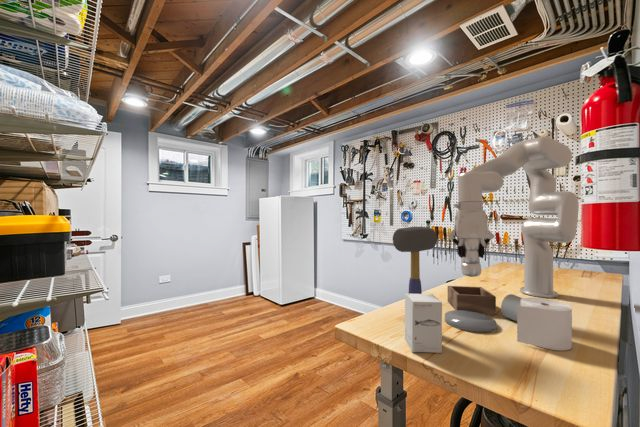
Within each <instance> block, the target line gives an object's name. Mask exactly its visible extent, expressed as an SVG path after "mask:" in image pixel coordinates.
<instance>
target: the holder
mask: <svg viewBox="0 0 640 427" xmlns="http://www.w3.org/2000/svg"><path fill="white" fill-rule="evenodd" d="M447 303H448V304H449V305H450V306H451V307H452V308H453V309H454V310H465V311H472V312H477V313H481V314H484V315H497V296H495V295H494V294H492V293H491V292H489V290H487V289H485V288H484V287H482V286H465V285H464V286H462V285H447Z"/></svg>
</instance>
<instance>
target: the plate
mask: <svg viewBox="0 0 640 427" xmlns="http://www.w3.org/2000/svg"><path fill="white" fill-rule="evenodd" d="M444 321H445V323H446V324H448V325H449V326H451V327H452V328H455V329H458V330H461V331H465V332H469V333H477V334H478V333H479V334H485V333H486V334H490V333H493V332H495V331H497V328H498V327H497V321H496V320H495V319H494V318H493V317H491V316H489V315H488V314H481V313H477V312H472V311H465V310H455V309H454V310H449V311H445V314H444Z"/></svg>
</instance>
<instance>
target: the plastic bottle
mask: <svg viewBox="0 0 640 427" xmlns="http://www.w3.org/2000/svg"><path fill="white" fill-rule="evenodd" d="M479 245H480V239H479V238H478V235H477V234H476V233H471V234H470V235H469V238H468V239H464V241H463V243H462V246H463V252H464V257H463V258H461V264H460V270H461V273H462V274H463V276H467V277H471V278H473V277H474V278H475V277H480V275H481V274H482V265H481V261H480V260H481V259H480V258H481V257H479Z"/></svg>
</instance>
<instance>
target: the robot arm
mask: <svg viewBox="0 0 640 427" xmlns="http://www.w3.org/2000/svg"><path fill="white" fill-rule="evenodd" d="M572 159H573V153H572V150H571V148H570V147H568V146H567V144H564V143H562V142H560V141H558V140H557V139H554V138H551V137H548V136H538V137H533V138H530V139H525V140H520V141H517V142H516V143H514V144H513V145H511V146H510V147H508V148H507V149H506V150H505V151H504V152H502V153H501V154H500V155H498V156H497V157H494V158H492V159H490V160H488V161H486V162H484V163H481V164H479V165H477V166H476V167H474V168H473V169H470V170H469V171H465V172H461V173H459V174H458V176H457V194H458V195H457V200H458V201H457V203H454V204H453V207H454V208H456V209H457V210H456V212H455V217H454V218H455V219H454V227H453V229H452V230H451V231H450V232H449V233H448V234H447V238H449V240H450V241H452V242H453V243H454V244H455V245H456V252H457V253H456V254H457V255H458V257H459V258H461V259H462V258H463V257H464V252H463V246H462V243H463V241H464V239H468V238H469V235H470V234H471V233H476V234H477V235H478V238H479V239H480V245H479V258H481V259H483V258H484V256H485V254H486V251H485V247H486V246H487V244H488V243H490V241H491V240H493V239H494V238H495V235H494V233H493V232H491V230H489V224H488V217H487V213H486V210H485V209H484V210H483V194H487V193H495V192H497V191H499V190H500V189H502V187H503V186H504V183H505V182H504V178H505V177H508V176H511V175H513V174H514V173H516V172H517V171H519V169H521V168H522V169H523V170H524V172H525V173H526V175H527V177H528V178H529V182H530V187H529V188H530V189H529V199H528V211H529V212H530V213H531V214H532V215H536V216H558V217H555V218H554V217H551V218H550V217H532V218H527V219H526V220H524V221H523V222H522V224H521V226H520V227H521V234H522V239H523V249H524V251H523V252H524V254H523V255H524V257H523V258H524V261H523V263H524V265H523V268H524V269H523V270H524V272H523V274H524V275H523V277H524V278H523V279H524V280H523V281H522V282H523V284H524V285H523V287H520V288H519V292H520V293H522V294H525V295H529V296H532V297H536V298H544V299H549V298H551V299H553V298H554V299H555V298H558V297H559V293H558V292H557V291H555V290H554V251H553V248H552V247H551V246H550V244H549V243H550V242H551V243H561V244H563V243H564V244H566V243H567V244H568V243H571V242H573V240H575V237H576V235H577V230H578V221H579V220H578V217H579V211H580V210H579V209H580V208H579V206H580V204H579V203H580V202H579V199H578V196H577V195H576V194H575V193H574V192H572V191H567V190H563V191H561V190H559V191H557V180H556V177H555V176H554V175H553V174H552V173H551V172H550V171H548V170H551V169H558V168H560V169H561V168H564V167H567V166H568V165H569V164H570V163H571V162H572ZM455 237H456V238H457V239H456V238H455Z"/></svg>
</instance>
